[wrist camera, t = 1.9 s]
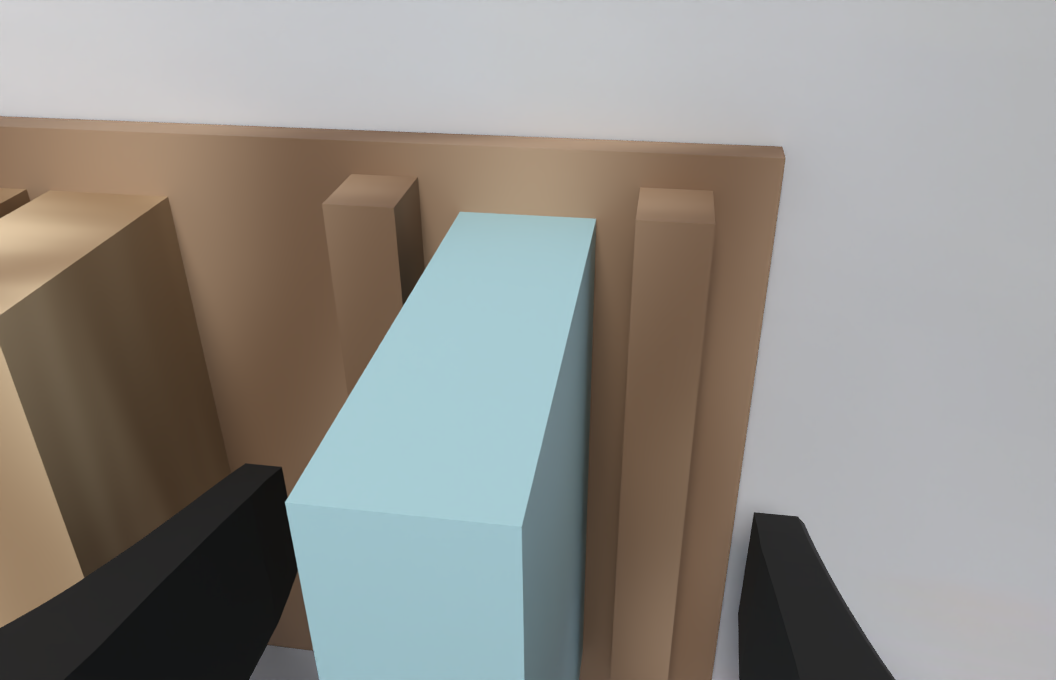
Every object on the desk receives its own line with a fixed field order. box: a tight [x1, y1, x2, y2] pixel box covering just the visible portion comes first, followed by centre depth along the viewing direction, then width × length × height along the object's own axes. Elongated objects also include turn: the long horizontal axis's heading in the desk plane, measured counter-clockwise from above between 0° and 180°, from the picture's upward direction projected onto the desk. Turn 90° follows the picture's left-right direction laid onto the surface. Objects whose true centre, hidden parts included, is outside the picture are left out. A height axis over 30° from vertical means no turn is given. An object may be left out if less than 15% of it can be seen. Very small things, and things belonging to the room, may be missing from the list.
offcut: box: [0, 191, 231, 628], centre depth 14 cm, size 2×9×4 cm, turn 1°
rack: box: [0, 116, 785, 680], centre depth 15 cm, size 16×11×2 cm
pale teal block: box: [285, 212, 596, 680], centre depth 12 cm, size 2×9×6 cm, turn 1°
